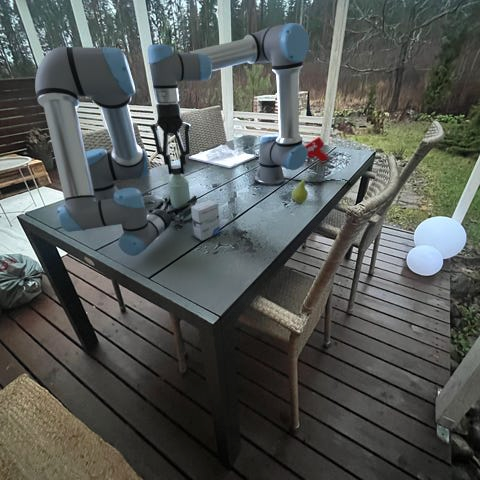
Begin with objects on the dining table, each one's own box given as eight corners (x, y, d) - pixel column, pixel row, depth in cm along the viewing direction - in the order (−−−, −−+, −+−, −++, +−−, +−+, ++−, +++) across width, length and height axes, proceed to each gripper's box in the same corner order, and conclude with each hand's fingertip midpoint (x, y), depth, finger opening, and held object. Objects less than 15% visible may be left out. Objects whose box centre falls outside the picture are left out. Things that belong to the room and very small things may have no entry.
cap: (171, 175, 99) (170, 169, 97) (171, 171, 102) (170, 165, 101) (182, 174, 99) (182, 168, 98) (182, 170, 103) (181, 164, 102)
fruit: (288, 200, 123) (290, 174, 116) (302, 197, 125) (305, 172, 119) (296, 206, 118) (299, 179, 111) (310, 203, 120) (314, 177, 114)
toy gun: (332, 156, 168) (319, 135, 164) (331, 158, 165) (319, 137, 161) (306, 172, 178) (294, 152, 174) (305, 174, 175) (293, 154, 171)
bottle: (195, 213, 113) (189, 166, 102) (187, 222, 107) (181, 172, 96) (178, 211, 114) (171, 164, 104) (170, 219, 108) (162, 170, 98)
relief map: (230, 168, 162) (230, 159, 159) (189, 158, 180) (188, 150, 177) (256, 157, 180) (256, 149, 177) (216, 149, 198) (215, 142, 195)
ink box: (211, 227, 103) (209, 198, 96) (220, 232, 100) (219, 203, 93) (193, 236, 98) (190, 206, 91) (202, 241, 95) (199, 210, 88)
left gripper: (132, 228, 97) (166, 202, 116) (183, 237, 92) (210, 208, 110) (128, 209, 93) (163, 186, 112) (181, 217, 88) (208, 191, 106)
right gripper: (137, 104, 85) (151, 176, 97) (192, 104, 85) (198, 176, 98) (144, 102, 91) (156, 170, 104) (195, 101, 91) (200, 169, 104)
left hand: (186, 197), depth 111 cm, fingers closed on bottle, 8 cm apart
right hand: (176, 172), depth 101 cm, fingers closed on cap, 4 cm apart
